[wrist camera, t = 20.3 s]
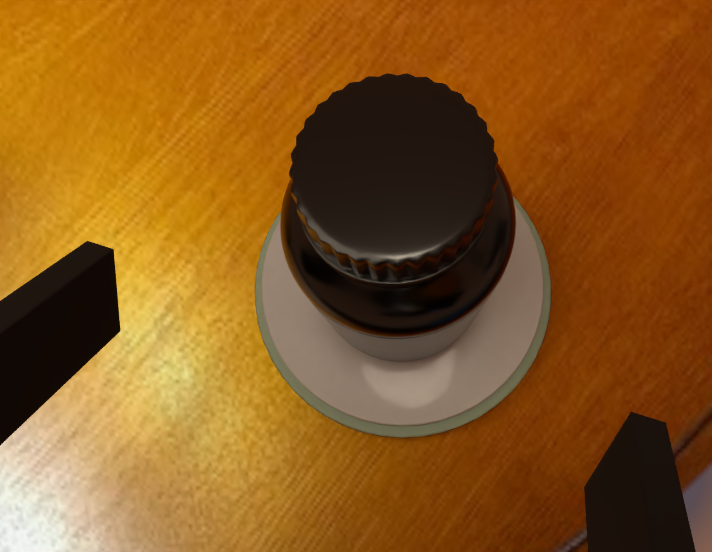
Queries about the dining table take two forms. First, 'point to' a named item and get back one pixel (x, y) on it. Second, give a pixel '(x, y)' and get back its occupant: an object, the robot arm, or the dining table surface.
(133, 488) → the dining table surface
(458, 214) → the supplement bottle
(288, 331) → the scale
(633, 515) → the robot arm
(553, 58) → the dining table surface
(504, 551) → the dining table surface
